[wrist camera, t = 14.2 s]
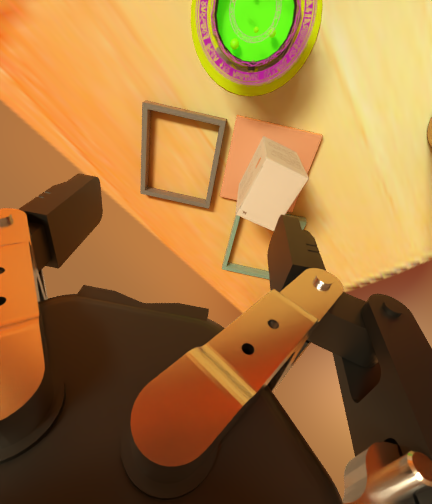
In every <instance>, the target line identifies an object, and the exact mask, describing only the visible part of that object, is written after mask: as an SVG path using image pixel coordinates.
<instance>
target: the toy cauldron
mask: <svg viewBox="0 0 432 504" xmlns="http://www.w3.org/2000/svg"><path fill="white" fill-rule="evenodd" d="M321 13H322V0H192V5H191V29H192V38H193V42H194V45H195V49H196V53H197V55H198V57H199V59H200V62H201V64H202V66H203V67H204V69H205V70H206V72H207V73H208V75H209V76H210V77H211V78H212V79H213V80H214V81H215V82H216V83H217V84H218V85H220V86H221V87H223V88H224V89H226V90H227V91H229V92H232V93H235V94H238V95H243V96H258V95H263V94H266V93H269V92H272V91H274V90H276V89H278V88H279V87H281V86H283V85H284V84H285V83H287V82H288V81H289V80H290V79H291V78H293V77H294V75H295V74H296V73H297V72H298V71H299V70H300V68H301V67H302V66H303V64H304V63H305V61H306V59H307V58H308V56H309V54H310V53H311V50H312V48H313V45H314V43H315V41H316V38H317V34H318V30H319V26H320V23H321Z"/></svg>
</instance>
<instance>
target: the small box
mask: <svg viewBox="0 0 432 504" xmlns="http://www.w3.org/2000/svg"><path fill="white" fill-rule="evenodd" d="M308 180H309V177H308V175H307V173H306V171H305V169H304V167H303V165H302V163H301V160H300V158H299V156H298V154H297V152H295V151H293V150H291V149H289V148H287V147H285V146H283V145H281V144H279V143H277V142H275V141H273V140H271V139H269V138H267V137H265V136H263V137H262V139H261V141H260V143H259V145H258V147H257V149H256V151H255V153H254V155H253V157H252V159H251V161H250V163H249V165H248V167H247V169H246V171H245V173H244V175H243V177H242V179H241V181H240V183H239V188H238V196H237V206H236V215H238V216H240V217H242V218H244V219H247V220H249V221H251V222H253V223H256V224H258V225H260V226H263V227H265V228H267V229H269V230H272V231H274V230H275V227H276V224H277V221H278V219H279V217H280V215H281V214H282V215H285V214H286V213H287V211H288V210H289V208H290V207H291V205H292V204H293V202H294V201H295V199H296V198H297V196H298V194H299V193H300V192H301V190H302V189H303V187H304V185H305V184H306V182H307V181H308Z"/></svg>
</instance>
